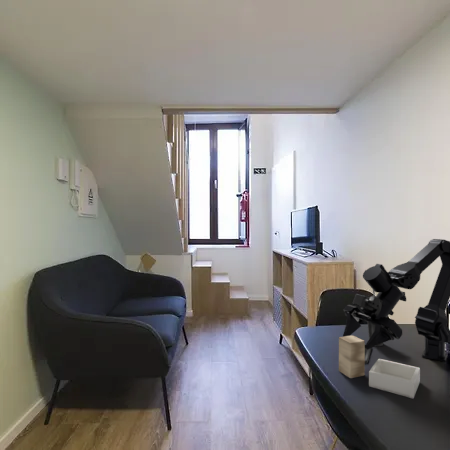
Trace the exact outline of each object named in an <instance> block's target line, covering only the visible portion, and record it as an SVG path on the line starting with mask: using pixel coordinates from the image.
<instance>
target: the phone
mask: <svg viewBox="0 0 450 450" xmlns="http://www.w3.org/2000/svg"><path fill="white" fill-rule="evenodd" d="M372 349H373V347H372V348H370V349H368V350H367V349H366V348H365V364H368V362H369V359H370V356H371V353H372Z"/></svg>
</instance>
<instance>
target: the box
mask: <svg viewBox="0 0 450 450" xmlns="http://www.w3.org/2000/svg"><path fill="white" fill-rule="evenodd" d="M420 383H421V367H417V366H413V365H409V364H404V363H401V362H396V361H391V360H387V359H382V358H378V359H377V360H376V361H375V363H374V364H373V365H372V367H371V368H370V370H369V371H368V387H369V388H370V387H371V388H374V389H377V390H381V391H384V392H388V393H392V394H396V395H398V396H403V397H406V398H410V399H413V400H414V398H415V396H416V393H417V391H418V388H419V386H420Z"/></svg>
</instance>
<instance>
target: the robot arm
mask: <svg viewBox="0 0 450 450" xmlns="http://www.w3.org/2000/svg"><path fill="white" fill-rule="evenodd" d="M438 258H440V261H441V266H440V270H439V273H438V274H437V275H438V276H437V278H436V281H435V284H434V286H433V289H432V292H431V295H430V298H429V301H428V302H427V305H425V306H419V307H418V309H417V313H416V315H415V317H414V318H415V320H414V324H415V327H416V331H417V334H418V335H421V336H423V337H424V348H423V352H422V353H421V354H422V355H421V357H422V358H426V359H430V360H431V359H432V360H435V361H441V362H446V361H447V358H448V354H447V353H446V343H450V328H449V327H448V322H449V320H448V316H447V312H446V310H447V306H448V304H449V301H450V240H446V239H442V238H439V239H438V238H432V239H430V240H429V241H428V243H427V245H425V246H424V247H423V248H422V249H421V250H420V251H419V252H417V253H416V254H415V255H414V256H413V257H411V258H410V259H409V260H408V261H407V262H406V261H405V262H404V263H401V264H399V265H396V266H394V267H393V268H391V269H390V270H389V271H387V270H386V268H385V266H384V265H383V264H381V263H376V264H375V265H374V266H371V267H369V268H367V269H365V270H364V271H363V273H362V279H364V281H365V282H366V283H367V284H368V286H369V288H371V290H372V291H373V290H374V292H375V293H377V294H376V295H375V297H374V296H373V295H371V296H370V297H367V296H365V295H361V294H358V293H355V295H354V298H353V301H352V303H351V304H352V305H351V304H347V305H345V306H344V308H343V309H342V310H343V312H344V315H345V316H346V324H345V327H344V330H343V333H342V337H344V336H351V335H353V334H354V333H355V332H356V331H357V330H359V328H361V327H362V325H361V324H363V323H364V322H367V323H368V322H369V323H371V324H374V325H375V331H374V333H373V334H372V336H371V337H370V339H369V338H368V340H367V342H366V343H365V348H366V349H367V350H368V349H370V348H372V349H373V348H374V347H378V346H377V345H379V344H381V343H383V344H384V343H386V342H389V341H394V340H400V339H401V337H402V336H403V329H402V328H401V327H400V326H399V324H398V323H397V322H396V321H395V319H392V318H390V317H388V316H393V315H394V314H395V312H394V311H393V309H394V308H395V307H396V305H397V304H398V303H399V302H400V301H403V302H407V296H406V292H405V291H402V290H401V289H400V288H402V289H405V290H412V289H414V288H415V287H416V285H417V284H418V283H419V281H420V280H421V274H422V273H423V272H424V271H425V270H426V269H427V268H428V267H430V266H431V264H433V262H435V261H436V260H437V259H438ZM357 306H358V307H360V309H359V308H358V307H357Z"/></svg>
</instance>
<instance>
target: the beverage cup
mask: <svg viewBox="0 0 450 450" xmlns="http://www.w3.org/2000/svg"><path fill="white" fill-rule="evenodd" d="M372 294H373V295H372V296H374V297H376V295H375V294H376V292H375V291H374V290H373V289H372ZM367 329H368V331H367V332H368V333H367V334H368V340H369V339H370V337H371V336H372V334H373V333H374V331H375V325H374V324H371V323H369V322H367ZM382 346H384V343H381V344H379V345H377V346H376V347H382Z"/></svg>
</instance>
